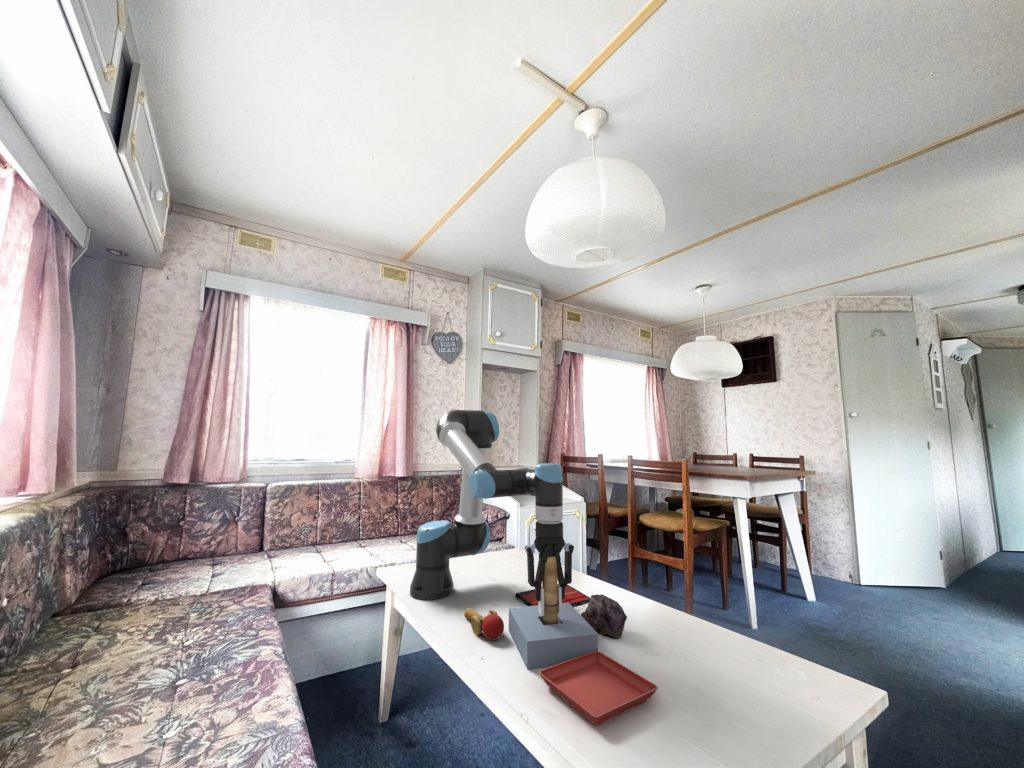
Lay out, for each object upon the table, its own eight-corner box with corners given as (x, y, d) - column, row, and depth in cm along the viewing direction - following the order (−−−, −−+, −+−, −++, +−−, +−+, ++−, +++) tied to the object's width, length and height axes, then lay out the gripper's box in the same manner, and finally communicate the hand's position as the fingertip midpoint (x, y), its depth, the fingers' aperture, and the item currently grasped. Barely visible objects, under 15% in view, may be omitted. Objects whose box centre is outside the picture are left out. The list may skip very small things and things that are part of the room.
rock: (613, 648, 107) (631, 634, 114) (616, 616, 107) (634, 604, 114) (576, 627, 115) (595, 615, 122) (579, 597, 115) (598, 587, 122)
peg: (540, 624, 109) (539, 554, 111) (555, 623, 109) (554, 553, 112) (545, 631, 104) (544, 558, 107) (560, 630, 105) (559, 557, 108)
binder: (515, 592, 138) (563, 581, 149) (514, 599, 138) (563, 588, 149) (543, 611, 125) (593, 597, 136) (542, 619, 124) (593, 605, 135)
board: (508, 630, 114) (508, 607, 115) (569, 624, 118) (568, 602, 119) (527, 669, 95) (527, 641, 96) (598, 660, 99) (598, 633, 100)
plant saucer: (597, 663, 98) (597, 648, 99) (660, 703, 83) (659, 685, 84) (537, 687, 88) (537, 671, 89) (596, 738, 73) (595, 717, 74)
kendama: (454, 627, 119) (484, 642, 105) (457, 602, 122) (486, 615, 107) (477, 626, 123) (509, 641, 109) (480, 602, 125) (511, 614, 111)
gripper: (522, 525, 105) (522, 621, 102) (584, 522, 109) (586, 615, 106) (515, 519, 112) (515, 609, 109) (573, 517, 116) (575, 604, 113)
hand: (550, 612), depth 108 cm, fingers closed on peg, 4 cm apart
